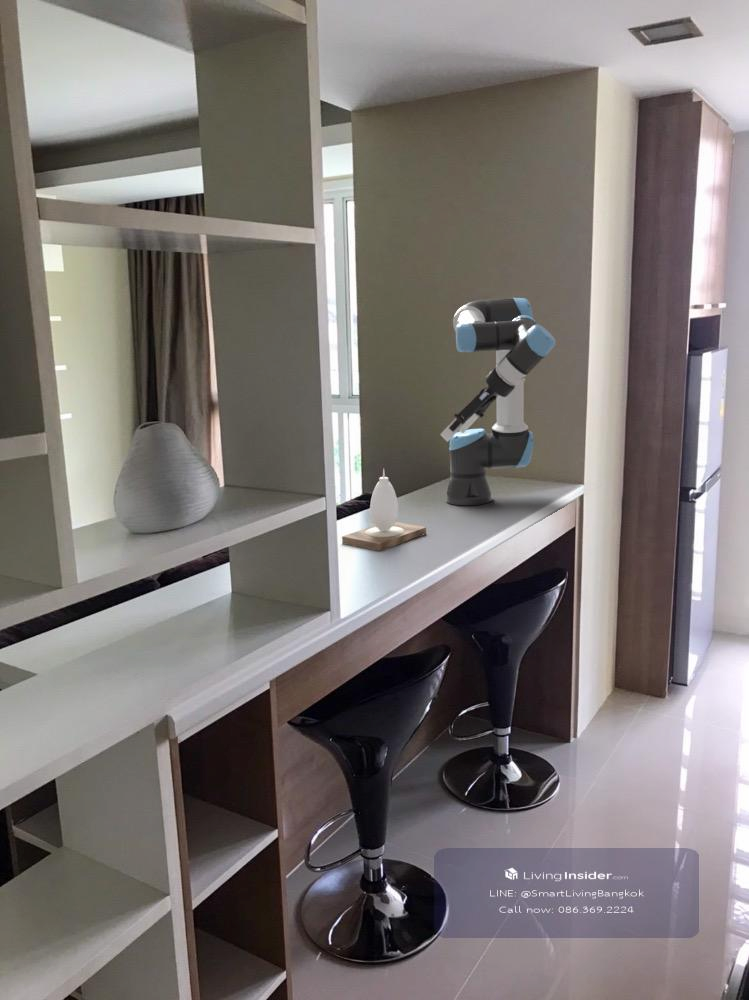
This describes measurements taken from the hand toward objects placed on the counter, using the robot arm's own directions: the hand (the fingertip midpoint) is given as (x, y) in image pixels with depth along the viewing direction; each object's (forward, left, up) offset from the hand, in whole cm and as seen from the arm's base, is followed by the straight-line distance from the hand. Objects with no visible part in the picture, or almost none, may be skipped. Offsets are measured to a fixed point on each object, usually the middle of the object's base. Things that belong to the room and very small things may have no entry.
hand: (451, 433), depth 225 cm
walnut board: (+11, -17, -29) cm, 35 cm away
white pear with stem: (+11, -17, -27) cm, 34 cm away
